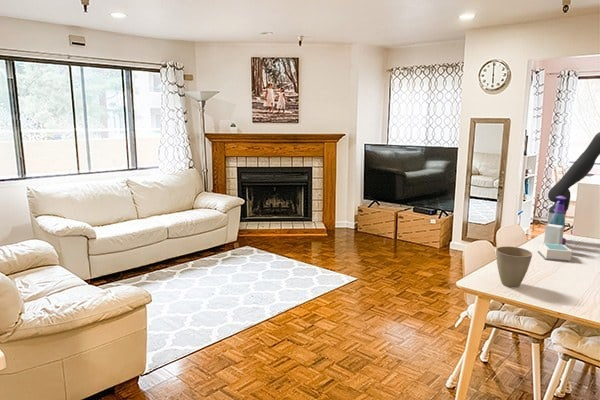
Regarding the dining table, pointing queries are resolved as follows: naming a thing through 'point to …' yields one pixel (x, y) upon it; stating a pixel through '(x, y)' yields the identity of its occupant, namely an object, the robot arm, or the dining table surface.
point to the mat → (551, 259)
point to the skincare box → (553, 234)
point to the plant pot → (512, 264)
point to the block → (555, 251)
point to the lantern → (559, 214)
